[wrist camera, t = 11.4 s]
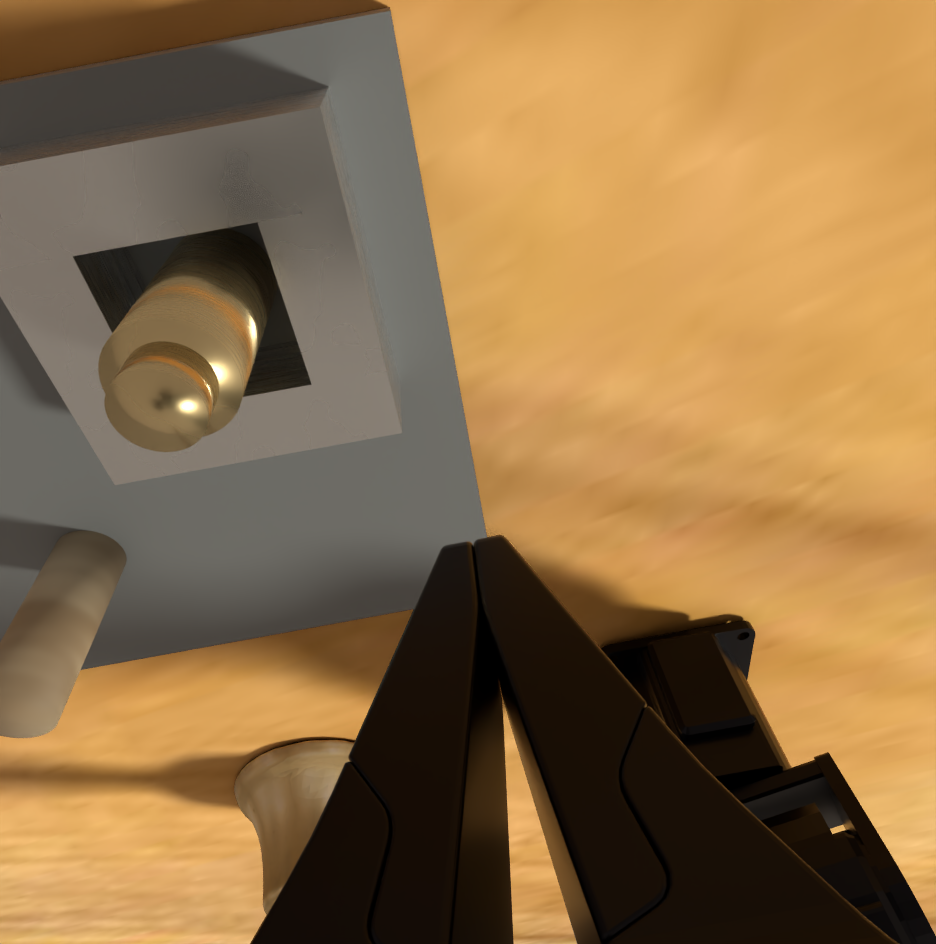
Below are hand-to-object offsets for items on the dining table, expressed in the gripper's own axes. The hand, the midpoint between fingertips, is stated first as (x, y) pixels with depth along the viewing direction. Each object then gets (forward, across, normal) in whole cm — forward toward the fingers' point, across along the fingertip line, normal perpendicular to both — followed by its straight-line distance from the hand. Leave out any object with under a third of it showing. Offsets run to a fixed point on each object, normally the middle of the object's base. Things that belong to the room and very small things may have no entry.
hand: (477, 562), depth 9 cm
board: (+11, +8, +2) cm, 14 cm away
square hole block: (+9, +5, -2) cm, 11 cm away
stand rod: (+9, +12, +6) cm, 16 cm away
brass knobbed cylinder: (+9, +5, -2) cm, 11 cm away
